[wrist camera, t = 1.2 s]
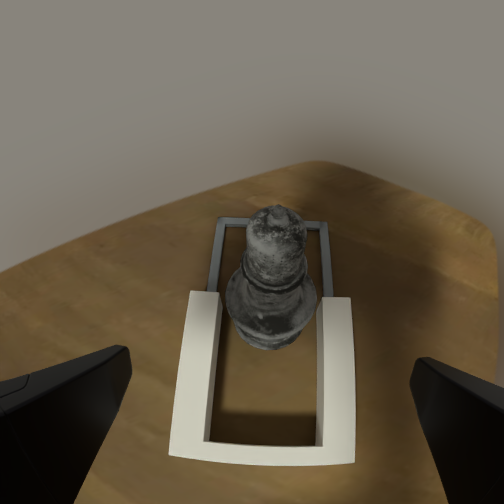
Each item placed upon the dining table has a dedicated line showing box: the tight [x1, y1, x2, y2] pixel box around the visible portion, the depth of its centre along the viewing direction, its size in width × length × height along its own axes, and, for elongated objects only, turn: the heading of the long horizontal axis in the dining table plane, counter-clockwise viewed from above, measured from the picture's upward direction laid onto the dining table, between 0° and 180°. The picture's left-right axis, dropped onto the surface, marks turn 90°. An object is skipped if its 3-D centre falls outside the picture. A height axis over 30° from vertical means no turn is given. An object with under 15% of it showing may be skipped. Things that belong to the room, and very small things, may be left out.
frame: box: [207, 217, 333, 297], centre depth 25 cm, size 8×10×1 cm
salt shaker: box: [225, 204, 317, 350], centre depth 18 cm, size 6×6×12 cm
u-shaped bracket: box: [169, 291, 356, 466], centre depth 19 cm, size 11×11×2 cm
